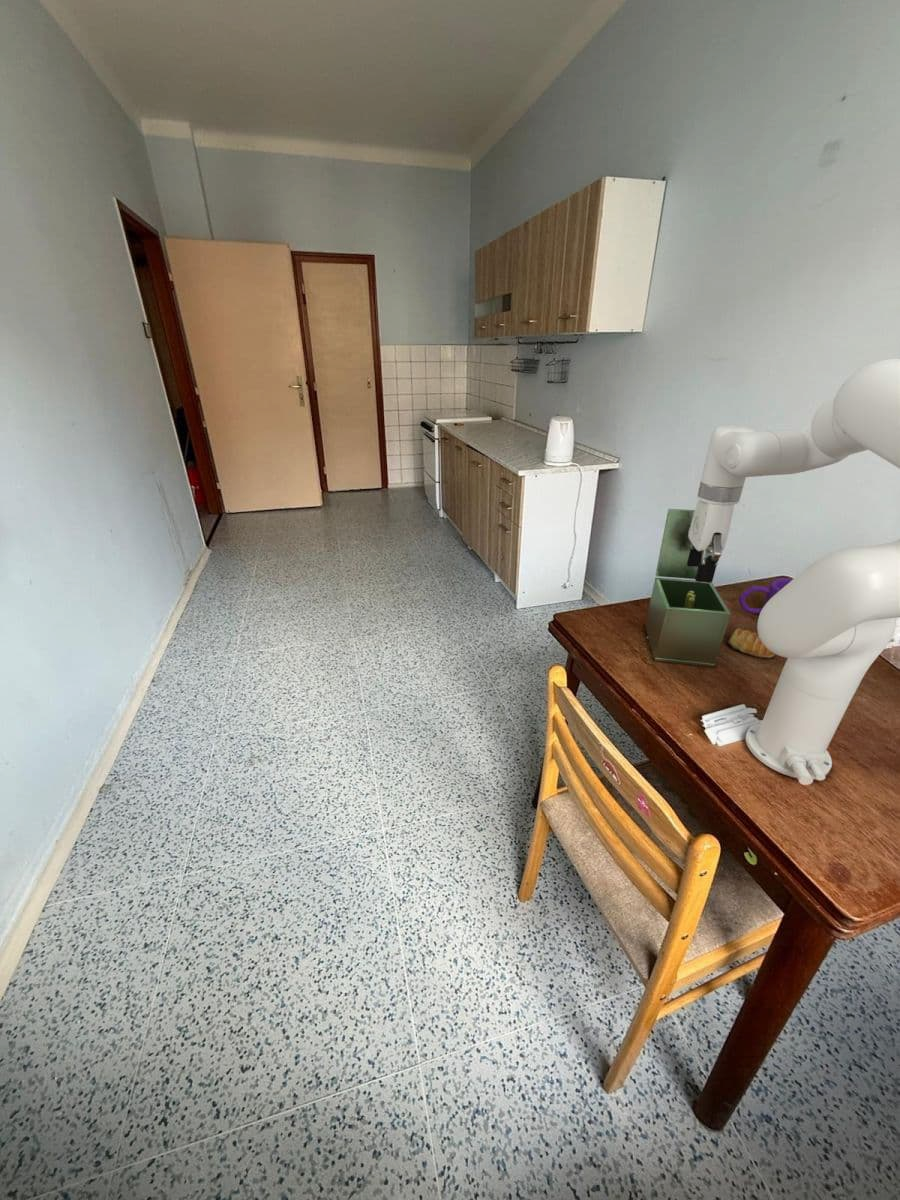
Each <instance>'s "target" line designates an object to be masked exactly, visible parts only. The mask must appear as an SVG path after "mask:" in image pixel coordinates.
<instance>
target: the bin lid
mask: <svg viewBox="0 0 900 1200" xmlns="http://www.w3.org/2000/svg"><path fill="white" fill-rule="evenodd" d="M694 512H695V509H683V508H682V509H681V508H668V509H667V514H666V519H665V524H664V529H663V535H662V540H661V544H660V549H659V555H658V560H657V565H656V570H655V577H659V578H672V579H686V580H695V578H696V574H697V570H698V567H693V566H688V565H687V561H688V557H689V553H690V549H694V548H691V544H692V542H691V541H690V539H689V537H688V533H689V529H690V526H691V522H692V519H693V515H694ZM706 549H711V550H712V547H707V548H706ZM709 555H711V553H707V555H706V558H707V557H708V556H709Z"/></svg>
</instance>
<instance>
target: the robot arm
mask: <svg viewBox="0 0 900 1200" xmlns="http://www.w3.org/2000/svg"><path fill="white" fill-rule="evenodd" d="M868 450H869V451H870V452H872V453H873V454H875V455H876V456H877V457H880V458H882V459H883V460H885V461H886V462H888V463H890V464H891V465H892V466H894V467H896V468H897V469H899V470H900V358H887V359H881V360H878V361H875V362H872V363H870V364H867V365H865V366H863V367H861V368H860V369H858V370H857V371H855V372H854V373H853V374H852V375H850V376H849V377H848V378H846V380H844V382H843V384H841V386H840V387H839V389H838V390H837V392H836V395H835V397H832V398H830V399H828V400H826V401H825V402H823V403H822V404H821V405H820V406H819V407H818V408H817V410H816V411H815V413H814V414H813V417H812V420H811V425H808V426H805V427H803V428H799V429H791V430H789V429H788V430H787V429H786V430H782V429H781V430H766V431H756V429H755V428H753V427H750V426H745V425H721V426H718V427H716V428H715V429H714V430H713V431H712V433H711V436H710V440H709V444H708V448H707V453H706V456H705V461H704V462H705V463H704V466H703V470H702V474H701V480H700V483H699V486H698V490H697V495H696V499H697V503H696V506H695V509H694V510H695V512H694V515H693V519H692V522H691V526H690V529H689V533H688V537H689V539H690V541H691V542H692V544H691V548H694V549H690V553H689V557H688V561H687V565H688V566H693V567H698V570H697V574H696V578H695V579H694V580H695V581H697V582H709V583H711V582H712V583H713V580H714V577H715V573H716V569H717V566H718V563H719V561H720V558H721V556H722V553H723V551H724V549H725V546H726V544H727V540H728V537H729V534H730V529H731V524H732V518H733V515H734V514H733V513H734V508H735V505H737V504H739V503H740V500H741V497H742V493H743V489H744V486H745V482H746V479H747V478H753V477H765V476H766V477H767V476H784V475H795V474H800V473H805V472H809V471H813V470H816V469H819V468H820V469H821V468H823V467H827V466H831V465H834V464H837V463H840V462H841V461H843V460H845V459H847V458H848V457H849V456H851V455H854V454H857V453H858V454H859V453H861V452H865V451H868ZM707 547H712V550H711V549H706V548H707ZM707 553H711V555H709V556H708V557H707V558H706V555H707ZM792 579H793V580H792V581H791V582H789V583H788V584H787V585H786V586H785V587H784V588H782V589H781V590H780V591H779V592H778V593H776V594H775V595H774V596H773V597H772V598H771V599H770V600H769V601H768V602H767V603H766V604H765V606H764V605H763V607H762V608H763V609H762V610H761V612H760V613H759V615H758V619H757V623H756V624H757V625H756V629H757V635H758V636H759V638H760V640H761V642H762V643H763V645H764V646H765V647H766V648H767V649H768V650H770V651H771V652H773V653H775V655H776V656H779V657H782V658H785V659H786V660H785V663H784V666H783V668H782V669H781V672H780V674H779V675H780V676H779V677H778V680H777V682H776V685H775V688H774V690H773V693H772V696H771V698H770V701H769V703H768V705H767V708H766V710H765V714H764V716H763V718H762V721H761V722H757V723H755V724H752V725H751V726H749V728H748V729H747V730H746V734H745V743H746V746H747V748H748V749H749V751H750V752H751V754H752V755H753V756H754V757H755V758H756V759H757V760H759V761H760V762H761V763H762V764H763V765H765V766H766V767H768V768H770V769H772V770H773V771H775V772H778V773H780V774H782V775H785V776H787V777H790V778H795V779H797V781H798V783H799V784H800V785H803V786H809V785H812V783H813V782H814V780H816V781H824V780H825V779H826V776H827V775H828V774H829V773H830V771H831V769H832V766H833V759H832V756H831V755H830V752H829V751H828V750H827V749H828V748H829V746H830V744H831V742H832V739H833V737H834V736H835V733H836V731H837V729H838V727H839V725H840V723H841V721H842V719H843V717H844V715H845V713H846V711H847V709H848V707H849V705H850V703H851V701H852V699H853V697H854V695H855V694H856V692H857V690H858V688H859V686H860V684H861V682H862V680H863V679H864V676H865V675H866V673H867V672H868V671H869V669H870V668H871V666H872V664H873V663H874V662H875V661H876V659H878V657H879V656H880V655H881V653H883V651H885V649H886V648H887V646H888V644H889V643H890V641H891V640H892V638H893V636H894V633H895V631H896V628H897V618H900V538H899V539H897V540H895V541H892V542H891V541H890V542H887V543H883V544H876V545H865V546H856V547H847V548H843V549H839V550H835V551H833V552H830V553H828V554H825V555H823V556H821V557H820V558H818V559H817V560H815V561H814V562H812V563H811V564H809V565H808V566H807V567H806V568H805V569H804V570H803V571H801V572H800V573H799V574H798V575H796V576H795V577H794V578H792Z"/></svg>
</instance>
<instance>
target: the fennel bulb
mask: <svg viewBox="0 0 900 1200" xmlns="http://www.w3.org/2000/svg"><path fill="white" fill-rule="evenodd" d="M695 597H696V595H694V592H693V591H689V592H688V594H687V595H686V602H685V607H684V608H689V609H693V608H694V603H695Z"/></svg>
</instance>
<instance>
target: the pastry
mask: <svg viewBox="0 0 900 1200" xmlns="http://www.w3.org/2000/svg"><path fill="white" fill-rule="evenodd" d="M727 643H728V645H729V646H730V647H731V648H732V649H734V650H737V651H738V650H739V651H740V653H741V652H742V653H744V654H749V655H751V656H754V657H758V658H773V657H774V656H775V655H776V654H775V653H773V652H771V651H770V650H768V649H767V648H766V647H765V646H764V645H763V643H762V642H761V640H760V638H759V635H758V633H756V632H751V631H750V630H749V629H745V630H743V629H742V628H740V627H737V628H736V629H735V630H734V631H733V633H732V634H731V636H730V638H729V639H728V641H727Z"/></svg>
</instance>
